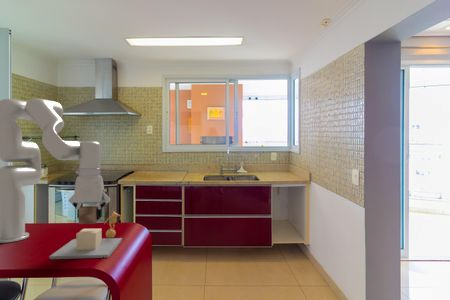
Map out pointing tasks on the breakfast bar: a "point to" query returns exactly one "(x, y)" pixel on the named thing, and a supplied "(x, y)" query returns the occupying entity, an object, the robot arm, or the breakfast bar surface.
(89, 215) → the walnut cube
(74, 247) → the base plate
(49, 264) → the breakfast bar surface
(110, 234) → the figurine
